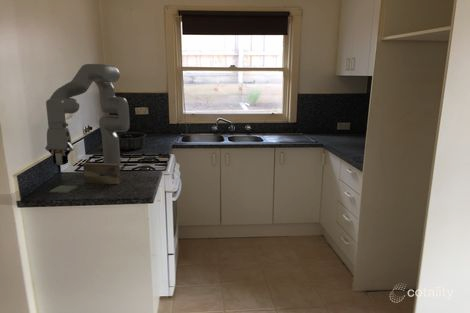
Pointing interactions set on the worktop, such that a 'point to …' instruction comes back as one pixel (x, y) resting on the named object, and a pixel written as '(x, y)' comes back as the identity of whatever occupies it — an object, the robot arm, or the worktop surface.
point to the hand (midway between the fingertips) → (60, 163)
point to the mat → (63, 189)
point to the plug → (59, 157)
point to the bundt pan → (131, 140)
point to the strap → (107, 172)
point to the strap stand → (95, 169)
